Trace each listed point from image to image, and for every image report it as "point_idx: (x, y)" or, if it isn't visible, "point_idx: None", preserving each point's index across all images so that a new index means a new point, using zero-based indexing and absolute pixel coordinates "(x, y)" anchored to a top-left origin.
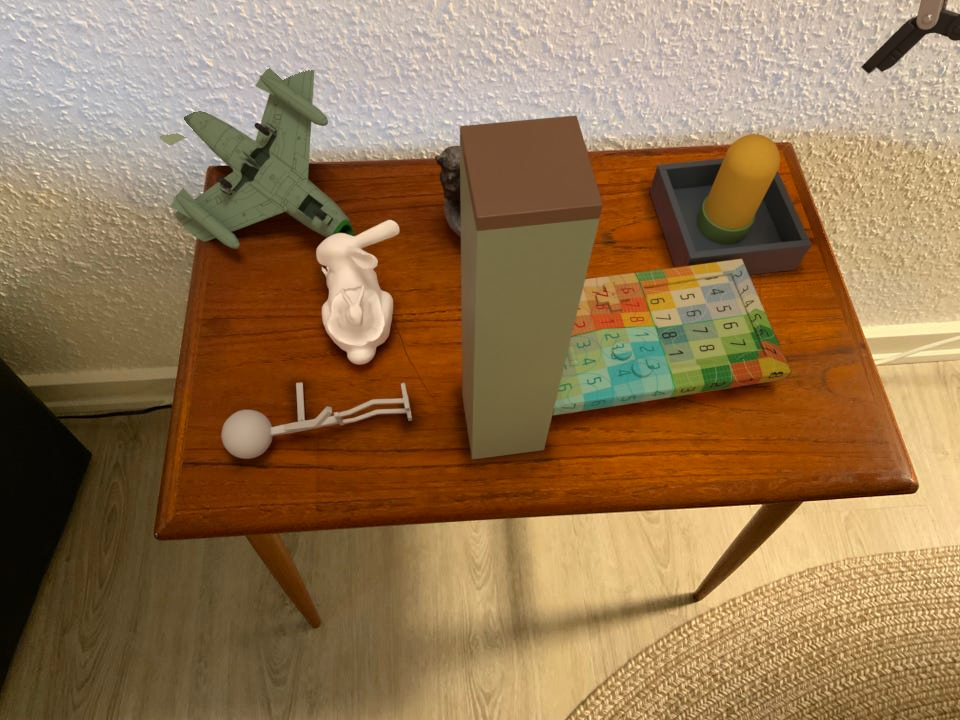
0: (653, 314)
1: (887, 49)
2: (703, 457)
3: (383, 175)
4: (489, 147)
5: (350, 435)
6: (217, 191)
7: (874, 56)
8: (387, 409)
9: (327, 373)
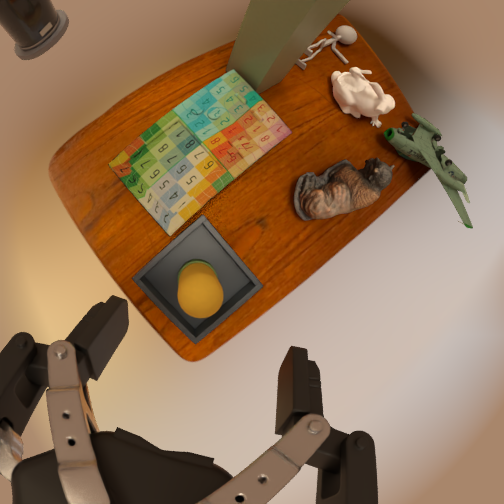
0: (206, 153)
1: (101, 317)
2: (141, 108)
3: (392, 197)
4: None
5: (312, 49)
6: (434, 141)
7: (113, 307)
8: (307, 59)
9: None
